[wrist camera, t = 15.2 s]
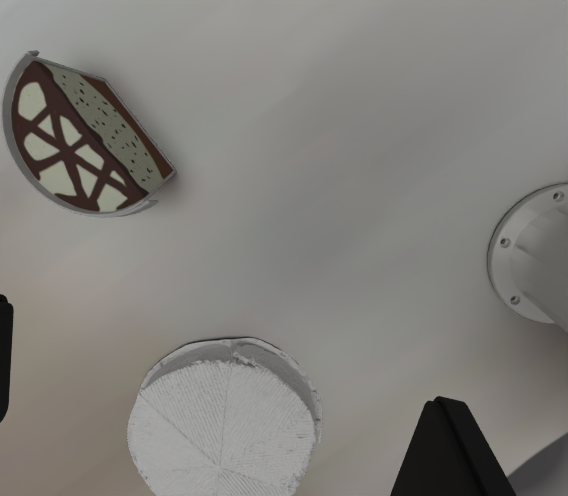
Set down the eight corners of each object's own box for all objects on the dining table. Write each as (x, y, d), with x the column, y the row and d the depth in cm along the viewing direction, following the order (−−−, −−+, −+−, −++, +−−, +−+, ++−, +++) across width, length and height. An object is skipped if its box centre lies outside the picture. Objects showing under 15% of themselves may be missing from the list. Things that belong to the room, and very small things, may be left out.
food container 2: (132, 322, 44) (100, 359, 38) (333, 342, 43) (336, 384, 37) (138, 482, 50) (111, 538, 44) (314, 503, 49) (314, 563, 43)
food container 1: (42, 109, 38) (-48, 107, 28) (93, 63, 37) (18, 45, 27) (136, 224, 41) (83, 257, 31) (187, 184, 39) (148, 207, 30)
